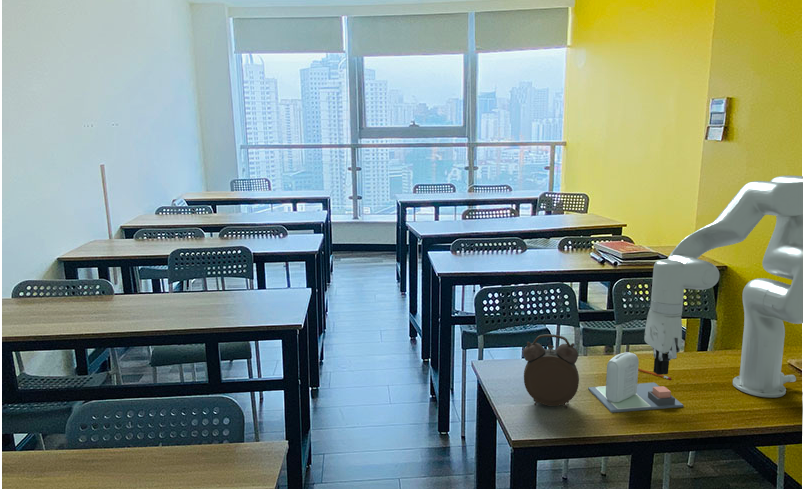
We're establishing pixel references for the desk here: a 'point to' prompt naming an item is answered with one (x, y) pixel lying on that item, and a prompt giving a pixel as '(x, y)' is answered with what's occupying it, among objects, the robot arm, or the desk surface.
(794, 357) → the desk surface
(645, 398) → the activity board
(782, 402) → the desk surface
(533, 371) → the alarm clock
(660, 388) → the button
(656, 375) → the pencil
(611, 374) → the photo printer
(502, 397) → the desk surface
